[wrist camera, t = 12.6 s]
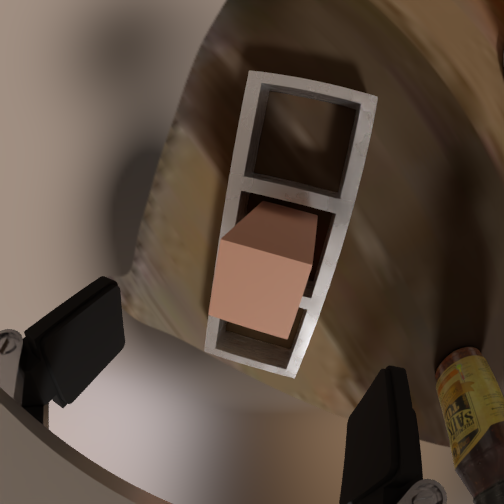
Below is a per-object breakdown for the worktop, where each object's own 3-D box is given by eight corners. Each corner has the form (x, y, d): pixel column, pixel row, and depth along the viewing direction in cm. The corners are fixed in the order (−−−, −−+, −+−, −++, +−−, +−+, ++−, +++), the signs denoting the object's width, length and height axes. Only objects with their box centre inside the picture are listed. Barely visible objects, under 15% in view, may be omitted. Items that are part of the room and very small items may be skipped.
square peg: (263, 200, 23) (220, 239, 14) (317, 215, 22) (312, 265, 13) (252, 251, 25) (208, 314, 15) (303, 266, 24) (287, 339, 15)
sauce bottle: (437, 349, 23) (485, 531, 5) (487, 338, 22) (555, 494, 4) (427, 392, 25) (451, 551, 7) (473, 382, 24) (514, 525, 6)
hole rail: (258, 79, 19) (249, 70, 17) (370, 103, 18) (378, 96, 15) (215, 333, 28) (204, 351, 26) (298, 357, 27) (294, 378, 24)
